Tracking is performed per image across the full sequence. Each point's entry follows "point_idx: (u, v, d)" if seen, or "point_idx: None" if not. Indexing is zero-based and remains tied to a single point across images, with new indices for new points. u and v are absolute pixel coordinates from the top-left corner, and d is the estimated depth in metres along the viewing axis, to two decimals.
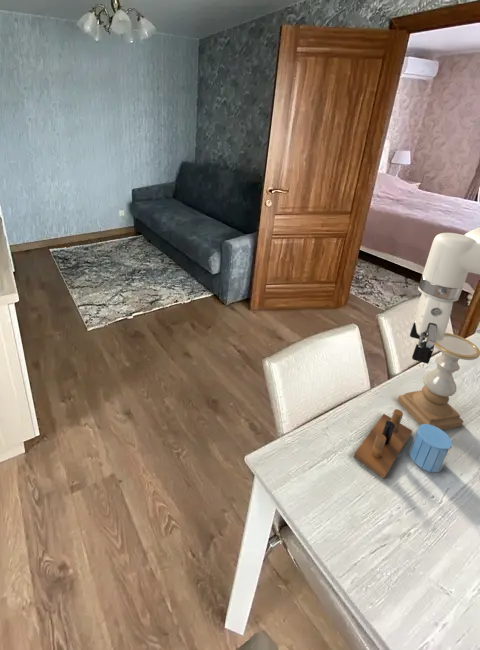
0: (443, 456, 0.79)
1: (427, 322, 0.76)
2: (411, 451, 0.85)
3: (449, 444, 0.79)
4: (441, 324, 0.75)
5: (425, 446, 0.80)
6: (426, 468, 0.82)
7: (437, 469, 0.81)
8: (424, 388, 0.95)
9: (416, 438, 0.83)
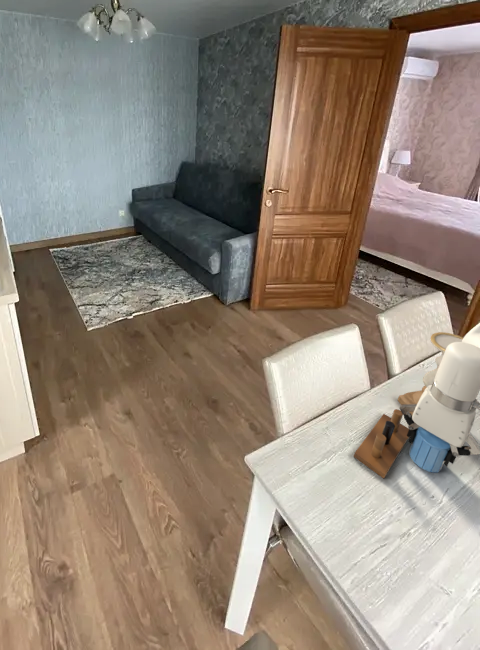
0: (443, 456, 0.79)
1: (468, 434, 0.75)
2: (411, 451, 0.85)
3: (449, 444, 0.79)
4: (471, 426, 0.76)
5: (425, 446, 0.80)
6: (426, 468, 0.82)
7: (437, 469, 0.81)
8: (424, 388, 0.95)
9: (416, 438, 0.83)
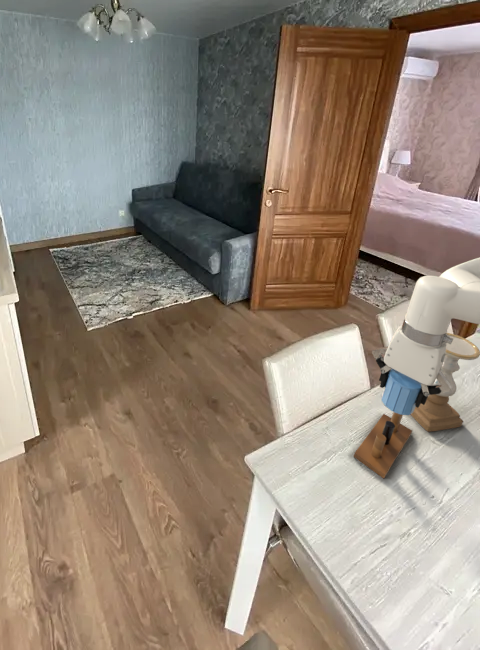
0: (414, 397, 0.77)
1: (438, 371, 0.73)
2: (383, 395, 0.82)
3: (420, 385, 0.77)
4: (442, 364, 0.74)
5: (396, 387, 0.78)
6: (397, 411, 0.79)
7: (408, 411, 0.79)
8: None
9: (388, 381, 0.81)
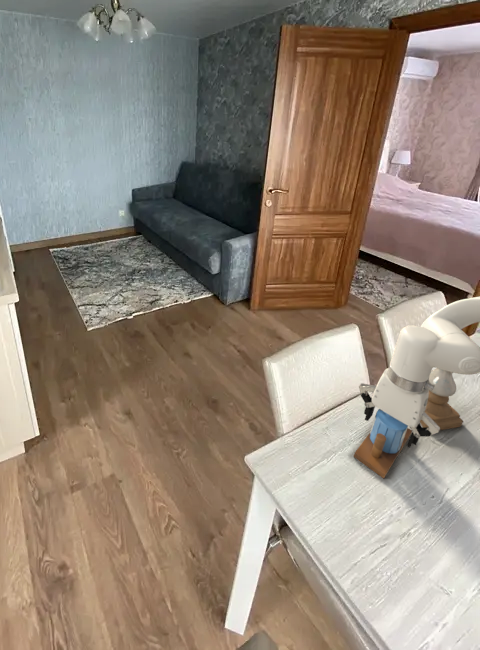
0: (399, 437, 0.82)
1: (421, 414, 0.78)
2: (371, 434, 0.87)
3: (405, 426, 0.82)
4: (425, 407, 0.79)
5: (382, 428, 0.83)
6: (384, 450, 0.84)
7: (394, 450, 0.84)
8: None
9: (375, 421, 0.86)
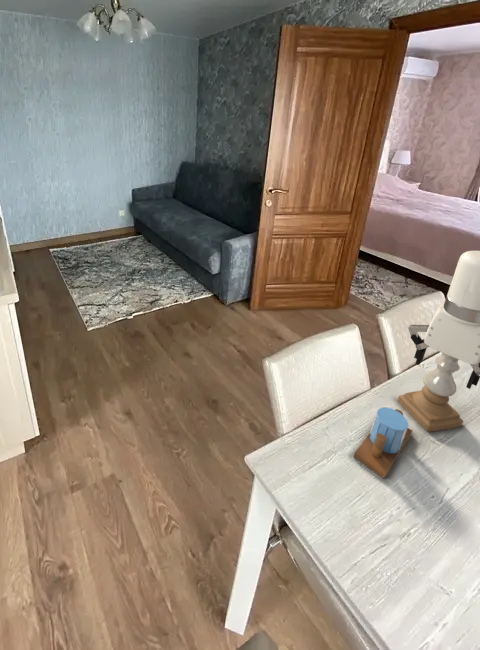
0: (399, 437, 0.82)
1: None
2: (371, 434, 0.87)
3: (405, 426, 0.82)
4: None
5: (382, 428, 0.83)
6: (384, 450, 0.84)
7: (394, 450, 0.84)
8: (424, 388, 0.95)
9: (375, 421, 0.86)
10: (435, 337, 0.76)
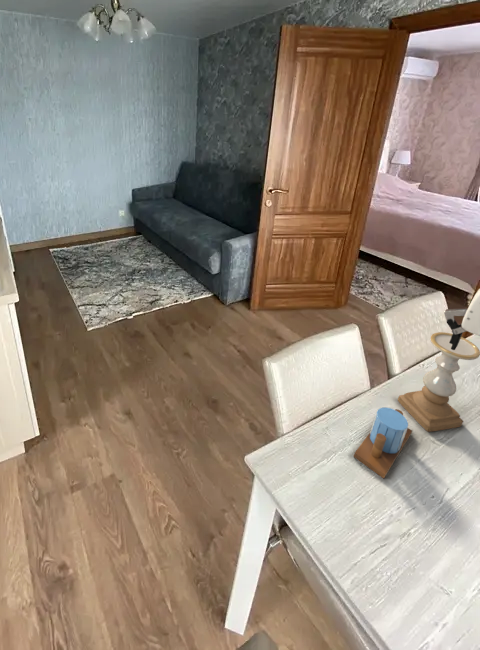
0: (399, 437, 0.82)
1: None
2: (371, 434, 0.87)
3: (405, 426, 0.82)
4: None
5: (382, 428, 0.83)
6: (384, 450, 0.84)
7: (394, 450, 0.84)
8: (424, 388, 0.95)
9: (375, 421, 0.86)
10: (474, 321, 0.74)
